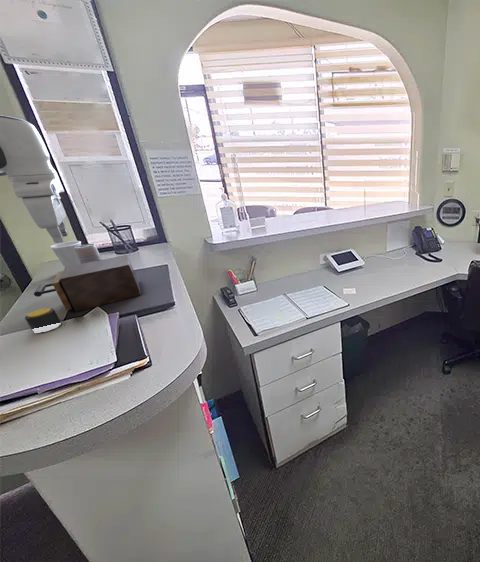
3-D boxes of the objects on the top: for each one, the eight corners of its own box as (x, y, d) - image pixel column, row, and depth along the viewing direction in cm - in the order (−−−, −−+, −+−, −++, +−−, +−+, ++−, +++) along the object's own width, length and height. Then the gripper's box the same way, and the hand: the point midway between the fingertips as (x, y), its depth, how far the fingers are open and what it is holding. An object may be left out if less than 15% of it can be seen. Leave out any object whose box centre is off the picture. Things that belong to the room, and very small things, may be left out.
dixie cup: (65, 269, 117) (53, 243, 113) (93, 264, 121) (82, 239, 117) (60, 275, 111) (47, 248, 107) (90, 269, 115) (78, 244, 111)
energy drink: (105, 275, 108) (91, 242, 103) (112, 278, 105) (97, 244, 100) (86, 281, 104) (70, 247, 99) (93, 284, 101) (77, 249, 96)
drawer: (42, 316, 79) (27, 288, 76) (49, 301, 88) (36, 276, 85) (128, 294, 89) (117, 269, 86) (127, 283, 98) (117, 260, 95)
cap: (31, 336, 72) (21, 319, 70) (35, 328, 76) (26, 312, 74) (60, 328, 75) (51, 312, 73) (62, 320, 78) (54, 305, 77)
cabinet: (75, 311, 83) (59, 279, 79) (79, 296, 92) (65, 266, 88) (141, 295, 91) (129, 264, 87) (138, 282, 100) (127, 254, 96)
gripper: (29, 185, 85) (51, 234, 90) (11, 190, 70) (39, 249, 75) (60, 183, 88) (79, 231, 94) (50, 188, 73) (74, 244, 79)
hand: (62, 239), depth 84 cm, fingers open, 8 cm apart
